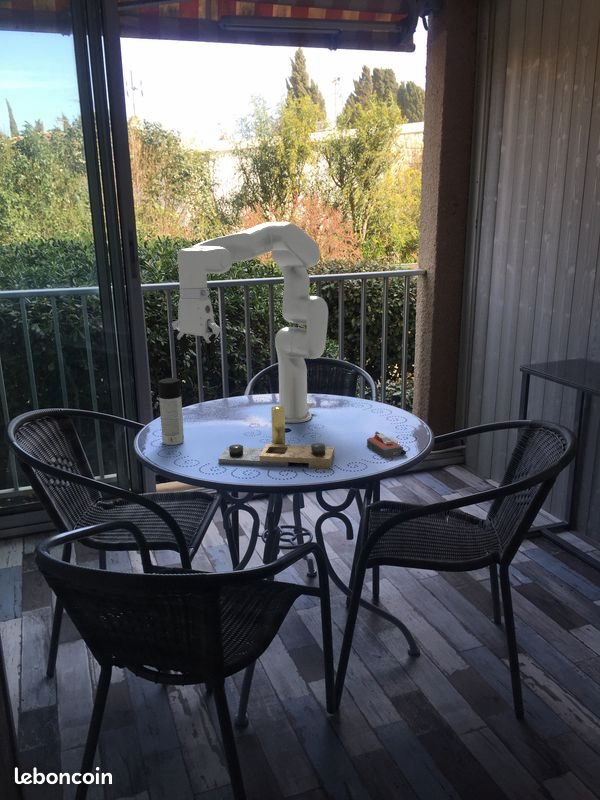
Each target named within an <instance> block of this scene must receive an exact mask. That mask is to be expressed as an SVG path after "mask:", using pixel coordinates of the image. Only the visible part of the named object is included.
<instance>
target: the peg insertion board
mask: <svg viewBox="0 0 600 800" xmlns="http://www.w3.org/2000/svg"><path fill="white" fill-rule="evenodd" d="M334 459H335V447H334V446H328V445H325V443H322V442H317V443H312V444H311V445H303V444H297V445H296V444H285V445H281V444H272V443H266V444H265V446H264V448H259V447H244V446H243V445H242V444H231V445H229V446H227V447H226V448H225V450H224V451H223V452H222V453H221V455H220V456H219V458H218V465H233V464H234V466H235V465H236V466H237V465H238V466H259V467H279V468H288V467H289V465H290V464H291V463H295V464H296V463H298V464H300V463H301V464H308V469H316V470H317V469H318V470H319V469H320V470H331V468H332V465H333V461H334Z"/></svg>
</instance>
